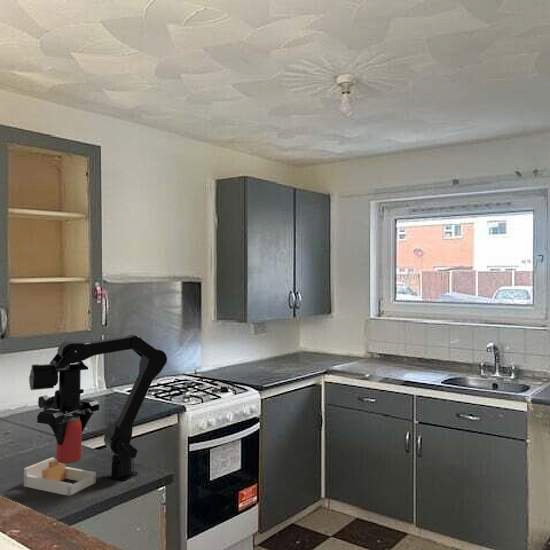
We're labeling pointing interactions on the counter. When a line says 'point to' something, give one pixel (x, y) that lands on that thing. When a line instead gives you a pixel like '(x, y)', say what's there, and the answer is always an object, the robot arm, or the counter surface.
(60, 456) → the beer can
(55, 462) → the pusher
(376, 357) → the counter surface
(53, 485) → the white tray
